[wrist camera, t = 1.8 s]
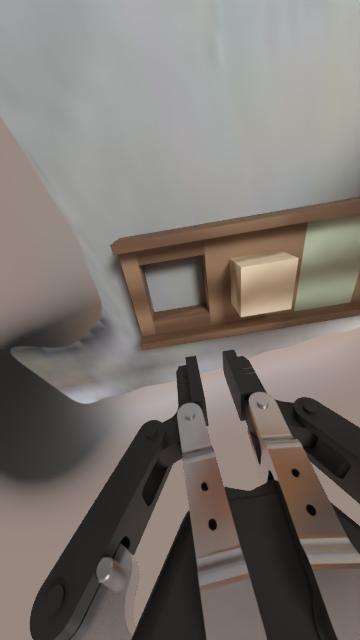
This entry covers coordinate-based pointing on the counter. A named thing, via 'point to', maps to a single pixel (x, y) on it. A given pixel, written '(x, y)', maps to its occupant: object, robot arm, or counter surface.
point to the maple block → (263, 282)
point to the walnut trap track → (243, 240)
